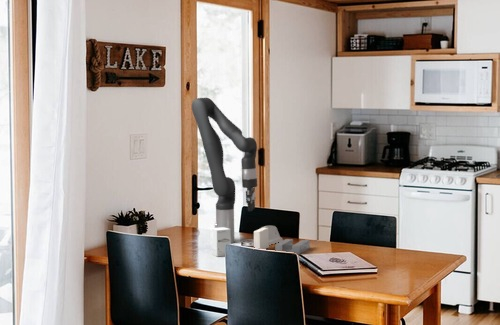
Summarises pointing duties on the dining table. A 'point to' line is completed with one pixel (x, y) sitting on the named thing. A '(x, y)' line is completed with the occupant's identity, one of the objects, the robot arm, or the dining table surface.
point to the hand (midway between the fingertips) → (251, 209)
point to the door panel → (261, 238)
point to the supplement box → (219, 240)
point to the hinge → (273, 235)
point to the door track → (293, 246)
